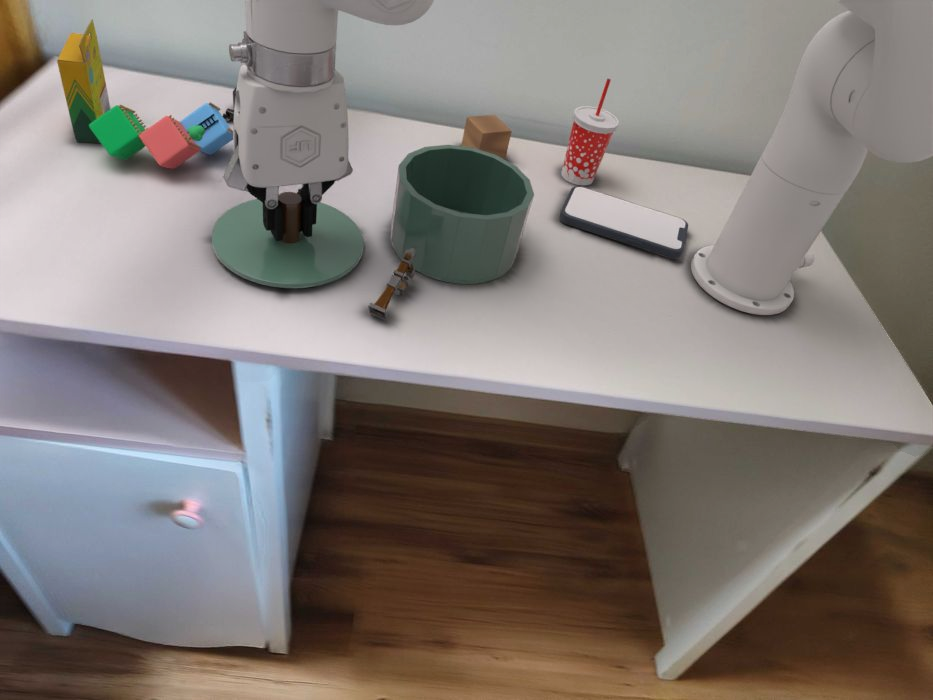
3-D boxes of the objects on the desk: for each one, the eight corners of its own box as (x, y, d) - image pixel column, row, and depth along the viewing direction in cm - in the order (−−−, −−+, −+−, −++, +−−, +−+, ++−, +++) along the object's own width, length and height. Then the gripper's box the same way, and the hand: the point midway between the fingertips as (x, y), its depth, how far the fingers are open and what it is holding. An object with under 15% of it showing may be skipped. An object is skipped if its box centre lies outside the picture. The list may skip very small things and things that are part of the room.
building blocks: (159, 192, 85) (239, 136, 84) (130, 186, 77) (218, 124, 76) (119, 136, 83) (200, 79, 83) (85, 124, 75) (174, 61, 75)
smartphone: (555, 224, 88) (678, 264, 86) (559, 213, 87) (683, 253, 84) (570, 193, 94) (685, 229, 92) (573, 182, 93) (690, 219, 91)
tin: (477, 201, 88) (491, 140, 82) (538, 272, 79) (558, 209, 73) (370, 216, 81) (377, 150, 75) (424, 294, 73) (436, 227, 67)
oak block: (488, 144, 99) (495, 114, 96) (504, 161, 96) (512, 130, 93) (460, 147, 97) (466, 116, 94) (476, 164, 94) (482, 133, 91)
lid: (333, 198, 82) (335, 152, 78) (385, 278, 73) (391, 231, 69) (196, 214, 75) (191, 165, 71) (235, 305, 66) (232, 255, 62)
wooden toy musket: (423, 270, 74) (421, 247, 70) (388, 331, 71) (384, 311, 67) (408, 264, 74) (405, 241, 70) (372, 325, 71) (367, 304, 67)
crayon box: (86, 112, 86) (66, 14, 78) (112, 114, 86) (95, 18, 79) (73, 142, 81) (51, 41, 73) (101, 144, 81) (82, 44, 73)
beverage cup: (590, 193, 94) (625, 95, 85) (549, 177, 96) (579, 78, 86) (603, 176, 99) (637, 80, 89) (564, 160, 100) (593, 64, 90)
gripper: (206, 80, 55) (220, 265, 67) (393, 73, 62) (374, 241, 74) (184, 40, 59) (201, 221, 71) (361, 39, 66) (348, 203, 79)
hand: (289, 230), depth 73 cm, fingers closed on lid, 2 cm apart
